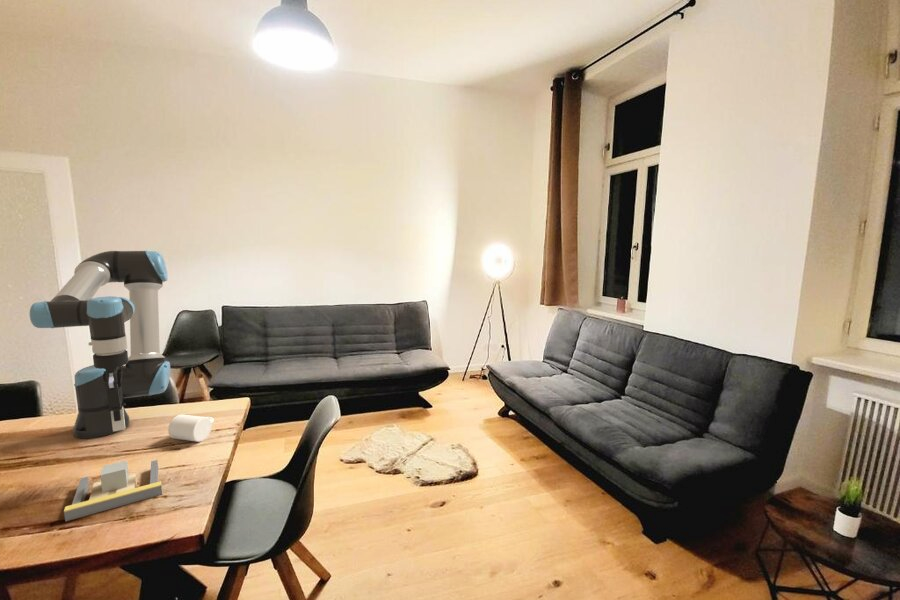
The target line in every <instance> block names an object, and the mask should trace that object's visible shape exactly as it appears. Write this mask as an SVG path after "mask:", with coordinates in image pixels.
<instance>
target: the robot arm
mask: <svg viewBox="0 0 900 600" xmlns="http://www.w3.org/2000/svg"><path fill="white" fill-rule="evenodd" d="M167 281H168V271H167V265H166V262H165V259H164V256H163V254H161V252H159V251H155V250H154V251H153V250H152V251H151V250H150V251H149V250H109V251H103V252H99V253H96V254H94V255H91V256H90V257H87V258H85V259H84V260H82V261H81V262H80V263H79V264H77V265H76V267H75V269H74V272H73V276H72V277H71V278H70V279H69V280H68V281H67V282H66V283H65V285H63V287H62V288H61V289H60V290H59V291H58V293H56V295H55V296H54V297H53V298H52V299H51V300H49V301H47V300H44V301H37V302H33V304H32V305H31V306H30V309H29V319H30V323H31V324H32V326H33V327H34V328H37V329H57V328H72V327H87V326H88V329H89V334H90V340H91V341H90V342H88V346H90V347H91V346H92V347H91V349H92V350H91V351H92V353H93V355H92V361H93V362H92V363H93V364H92V365H89V366H86V367H83V368H80V369H78V371H77V372H75V374H74V383H73V385H74V389H75V395H76V396H75V397H76V404H77V416H76V418H75V423H74V426H73V428H72V429H73V436H74V437H75V438H78V439H94V438H101V437H104V436H108V435H112V434H115V433H118V432H120V431H124V430H126V428H127V427H128V426H129V425H130V423H131V421H130V415H129V414H128V412H127V410H126V409H125V407H126V405H127V404H126V402H124V399H127V398H128V399H129V398H137V397H143V396H144V397H146V396H152V395H159V394H162V393H165V391H166V390H167V389H168V385H169V382H170V379H171V378H170V377H171V363H170V361H167V360H166V358H165V357H166V356H164V355H163V354H162V353H161V352H160V351H161V350H160V348H161V347H160V321H159V319H160V318H159V290H161V288H163V283H165V282H167ZM108 283H123V287H124V288H126V289H127V290H128V291H129V299H128V298H126V297H121V296H119V297H118V296H98V297H94V296H95V295H96V293H97V292H98V291H99V289H100V287H103V286H105V285H106V284H108ZM127 321H129V327H130V328H129V331H130V332H129V336H130V337H129V338H130V343H129V344H130V356H129V353H128V350H127V349H128V342H127V334H126V327H125V323H126V322H127ZM124 406H125V407H124Z"/></svg>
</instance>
